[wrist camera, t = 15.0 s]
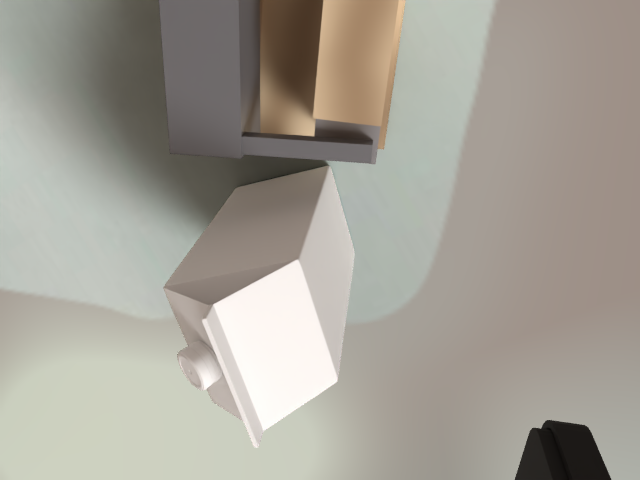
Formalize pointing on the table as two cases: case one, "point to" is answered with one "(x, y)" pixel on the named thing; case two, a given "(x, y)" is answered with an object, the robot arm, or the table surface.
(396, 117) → the table surface
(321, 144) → the grey bracket
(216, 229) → the milk carton
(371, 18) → the stacked wooden blocks
